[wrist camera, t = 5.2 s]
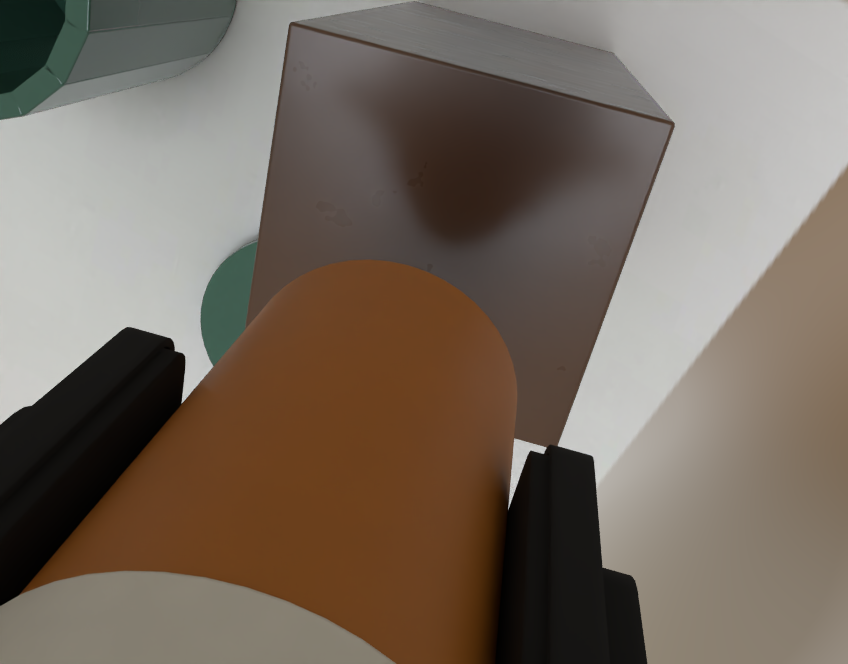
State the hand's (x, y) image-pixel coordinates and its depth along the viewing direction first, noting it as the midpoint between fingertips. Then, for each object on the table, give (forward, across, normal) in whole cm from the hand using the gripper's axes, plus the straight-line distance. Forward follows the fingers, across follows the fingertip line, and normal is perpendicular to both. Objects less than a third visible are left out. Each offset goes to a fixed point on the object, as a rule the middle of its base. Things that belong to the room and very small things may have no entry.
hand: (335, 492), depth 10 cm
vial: (+3, 0, 0) cm, 3 cm away
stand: (+28, 0, +1) cm, 28 cm away
